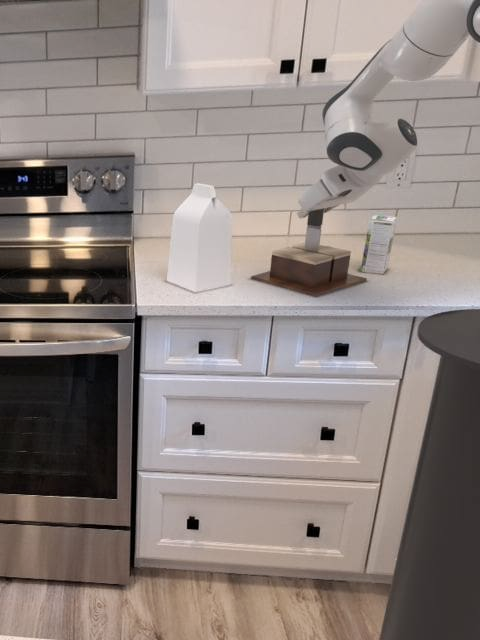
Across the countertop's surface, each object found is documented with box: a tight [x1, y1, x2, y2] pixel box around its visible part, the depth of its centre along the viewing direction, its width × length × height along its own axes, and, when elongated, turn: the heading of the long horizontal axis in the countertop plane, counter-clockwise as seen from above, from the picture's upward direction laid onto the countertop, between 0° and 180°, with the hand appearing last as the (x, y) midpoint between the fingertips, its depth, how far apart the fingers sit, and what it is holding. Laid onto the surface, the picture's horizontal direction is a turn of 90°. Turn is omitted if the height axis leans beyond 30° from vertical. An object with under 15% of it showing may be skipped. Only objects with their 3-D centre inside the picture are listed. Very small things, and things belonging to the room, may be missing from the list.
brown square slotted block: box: [250, 242, 367, 298], centre depth 181 cm, size 20×20×8 cm
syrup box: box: [360, 214, 398, 275], centre depth 184 cm, size 6×6×14 cm
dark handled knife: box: [304, 208, 325, 253], centre depth 177 cm, size 4×2×15 cm, turn 31°
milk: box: [166, 182, 233, 293], centre depth 180 cm, size 12×12×26 cm
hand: (312, 213), depth 175 cm, fingers open, 8 cm apart
